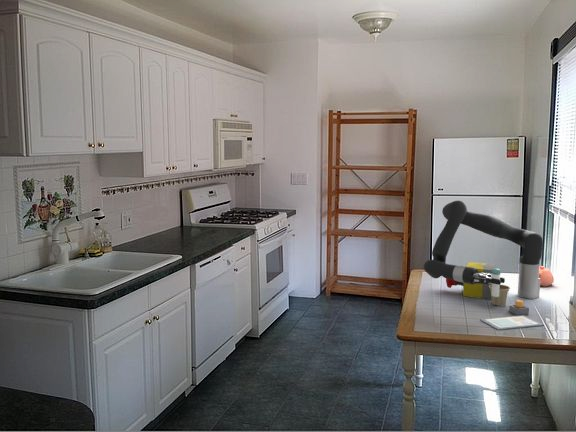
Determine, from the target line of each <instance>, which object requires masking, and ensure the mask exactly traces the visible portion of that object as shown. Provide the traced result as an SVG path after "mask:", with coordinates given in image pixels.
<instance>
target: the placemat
mask: <svg viewBox="0 0 576 432" xmlns="http://www.w3.org/2000/svg"><path fill="white" fill-rule="evenodd" d="M480 321H481V322H482V323H484V324H486V325H487V326H490V327H492V328H493V329H495V330H496V331H505V330H512V329H513V330H515V329H524V328H526V329H527V328H534V327H544V324H543V323H541V322H539V321H537V320H534V319H533V318H530V317H528V316H527V315H513V316H503V317H491V318H481V319H480Z"/></svg>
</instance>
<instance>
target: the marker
mask: <svg viewBox="0 0 576 432" xmlns="http://www.w3.org/2000/svg"><path fill="white" fill-rule="evenodd" d="M500 277H501V269H500V268H499V267H498V268H493V269H492V278H494V279H500ZM500 285H501V284H500ZM500 285H498V284H493V283H492V291H491V296H494V297H499V287H500Z"/></svg>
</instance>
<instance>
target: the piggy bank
mask: <svg viewBox="0 0 576 432" xmlns="http://www.w3.org/2000/svg"><path fill="white" fill-rule="evenodd" d="M539 278H540V287H541V286H542V287H545V288H547V287H549V286H551V285H552V284H554V281H555V280H554V275H553V273H552V272H551V270H550V269H549V268H546V267H545V266H543V265H539Z"/></svg>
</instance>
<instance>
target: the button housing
mask: <svg viewBox="0 0 576 432" xmlns="http://www.w3.org/2000/svg"><path fill="white" fill-rule="evenodd" d="M508 307H509V308H508V311H509V313H511V314H514V315H515V316H521V315H525V316H527V315H529V313H530V307H529V306H527V305H526V306H525V305H524V306H523V308H517V307H515V304H509V306H508Z"/></svg>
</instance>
